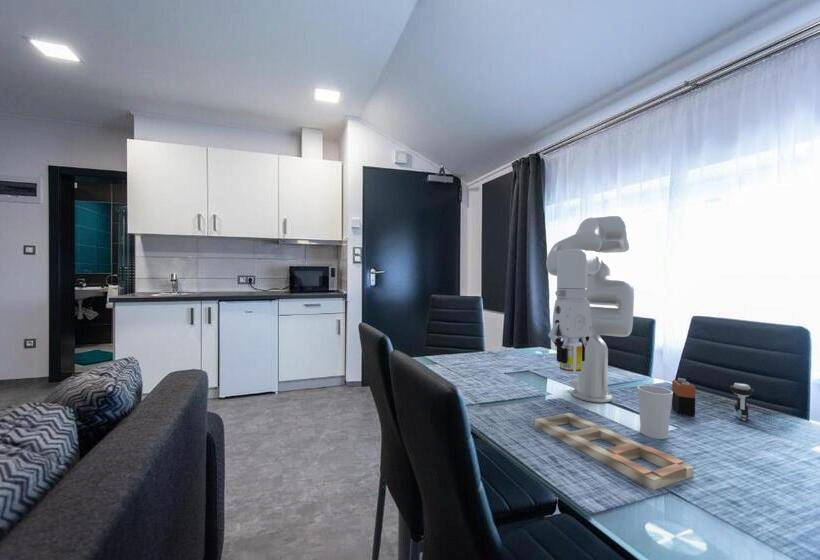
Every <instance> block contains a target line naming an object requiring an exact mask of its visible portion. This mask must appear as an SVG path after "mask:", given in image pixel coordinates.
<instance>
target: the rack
mask: <svg viewBox="0 0 820 560" xmlns="http://www.w3.org/2000/svg"><path fill="white" fill-rule="evenodd" d="M566 424H569V425H571V426H573V427H575V428H578V429H577V430H573V431H569V430H567V429H566V428H563V427H561V426H562V425H566ZM534 427H536V428H538V429H539V430H541V431H543V432H544V433H546V434H549V435H551V436H552V437H555V438H556V439H558V440H560V441H561V442H563V443H565V444H567V445H569V446H571V447H573V448H574V449H577V450H578V451H579V452H582V453H584V454H586V455H588V456H590V457H591V458H593V459H595V460H597V461H598V462H600V463H602V464H605V465H606V466H608V467H609V468H611V469H613V470H615V471H617V472H619V473H621V474H623V475H624V476H626V477H628V478H630V479H632V480H634V481H635V482H637V483H639V484H641V485H643V486H645V487H647V488H648V489H650V490H652V491H655V490H658V489H662V488H665V487H667V486H670V485H673V484H676V483H678V482H682V481H684V480H688V479H690V478H693V477H694V476H695V475H694V471H695V470H694V469H695V467H694V466H692V465H690V464H687V463H685V462H684V460H682V459H679V458H678V457H674V456H673V455H670V454H667V453H665V452H663V451H661V450H659V449H656V448H654V447H651V446H649V445H648V444H646V445H644V444H642V443H639V442H638V441H636V440H632V439H630V438H629V437H626V436H624V435H621V434H619V433H617V432H615V431H612V430H609V429H608V428H605V427H603V426H601V425H598V424H597V423H594V422H592V421H589V420H587V419H585V418H582V417H580V416H578V415H575V414H574V413H572V412H565V413H559V414H555V415H550V416H544V417H538V418H535V419H534ZM599 439H600V440H604V441H605V442H607V443H610V444H611V445H614V446H612V447H611V446H610V447H607V448H603V447H601V446H599V445H597V444H596V443H593V442H591V441H595V440H596V441H597V440H599ZM638 458H642V459H643V460H646V461H647V462H649V463H651V464H654V465H656V466H658V467H660V468H658V469H657V468H656V469H654V470H650V469H649V468H646V467H644V466H642V465H641V464H639V463H637V462H634V461H632V460H635V459H638Z"/></svg>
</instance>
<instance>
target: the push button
mask: <svg viewBox="0 0 820 560" xmlns="http://www.w3.org/2000/svg"><path fill="white" fill-rule="evenodd" d="M729 388H730V392H732V393H733V394H734V395H737V398H736V403H735V404H734V411H733V412H734V413H733V414H734V416H735V417H737V418H739V419H738V420H740V421H741V420H742V421H747V419H749V406H748V405H747V398H746V397H750V396H753V395H754V394H753V393H754V392H755V389H754V388H751V385H749V384H746V383H741V382H735V383H734V384H733V385H730V386H729Z"/></svg>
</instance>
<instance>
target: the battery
mask: <svg viewBox="0 0 820 560" xmlns="http://www.w3.org/2000/svg"><path fill="white" fill-rule="evenodd" d="M671 384H672V385H671V389H672V390H671V391H672V392H673V396H672V404H671V409H673V410H675V412H676V413H677V414H678V415H683V416H691V417H695V415H696V390H697V389H696V387H695V385H693V384H692V383H690V382H689V381H687V379H686V378H682V377H678V378H677V379H673V380H672V381H671Z"/></svg>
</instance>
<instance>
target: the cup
mask: <svg viewBox="0 0 820 560" xmlns="http://www.w3.org/2000/svg"><path fill="white" fill-rule="evenodd" d="M636 388H637V389H636V390H637V398H638V408H639V409H638V410H639V411H638V412H639V424H640V425H639V432H640V434H642V435H644V436H645V437H647V438H653V439H655V440H656V439H657V440H666V439H668V438H669V428H670V419H671V410H672V396H673V392H672V390H670V389H669V388H665V387H662V386H657V385H656V386H655V385H652V384H651V385H650V384H649V385H648V384H645V385H644V384H642V385H641V384H640V385H638V386H637V387H636Z"/></svg>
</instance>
